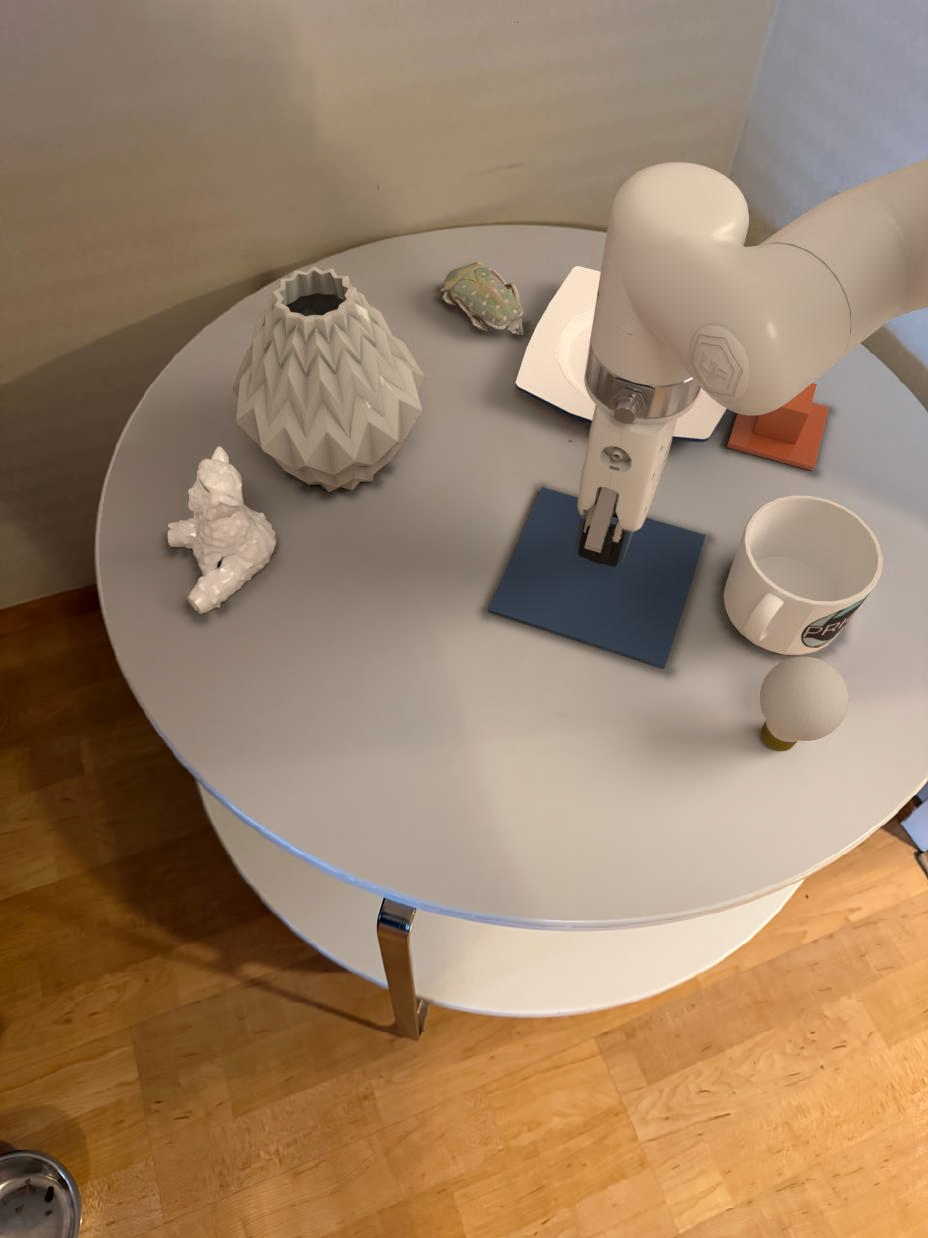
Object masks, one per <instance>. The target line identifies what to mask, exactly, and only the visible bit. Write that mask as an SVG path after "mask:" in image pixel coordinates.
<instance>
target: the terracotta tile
mask: <svg viewBox="0 0 928 1238" xmlns="http://www.w3.org/2000/svg"><path fill="white" fill-rule="evenodd" d="M829 409H830V407H829V406H825V405H822V404H818V403H816V402H815V403H814V402H812V405H811V409H810V413H809V416H808V418H807V420H806V422H805V425H804V427H803V429H802V431H801V434H800V436H799V438H798V440H797V443H796V444H792V443H788V442H784V441H781V440H777V439H773V438H770V437H766V436H762V435H759V434H755V433H753V431H754V428H755V424H756V421H757V417H758V415H743V414H739V413H736V417H735V418H734V422H733V426H732V429H731V432H730V435H729V438H728V442H727V444H726V448H728V449H731V450H735V451H739V452H742V453H746V454H750V455H754V456H758V457H760V458H765V459H768V460H772V461H775V462H778V463H782V464H786V465H790V466H793V467H797V468H800V469H805V470H808V471H814V470H815V466H816V462H817V458H818V454H819V452H820V451H819V450H820V446H821V443H822V437H823V434H824V430H825V425H826V423H827V422H826V421H827V418H828V414H829Z"/></svg>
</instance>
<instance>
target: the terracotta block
mask: <svg viewBox="0 0 928 1238" xmlns="http://www.w3.org/2000/svg"><path fill="white" fill-rule="evenodd" d="M816 389H817V383H815V382H813V383H812V384H810V385H809V386H808V387H807V388H805V389H804V390H803V391H802V392H801V393H799V394H798V395H797V396H796V397H794V398H793V399H792V400H790V401H789V402H788V403H786V404H785V405H783V406H781V407H780V408H778V409H776V410H774V411H772V412H769V413H766V414H762V415H758V417H757V421H756V424H755V428H754V431H753V433H755V434H759V435H762V436H766V437H770V438H773V439H777V440H781V441H784V442H788V443H792V444H796V443H797V440H798V438H799V436H800V434H801V431H802V429H803V427H804V425H805V422H806V420H807V418H808V416H809V413H810V409H811V405H812V403H813V401H814V397H815V393H816Z"/></svg>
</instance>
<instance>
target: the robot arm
mask: <svg viewBox="0 0 928 1238" xmlns="http://www.w3.org/2000/svg"><path fill="white" fill-rule="evenodd" d="M749 226H750V215H749V207H748V203H747V200H746V198H745V196H744V194H743V192H742V191H741V190H740V188H739V187H738V186H737V185H736V183H734V182H733V181H732V180H731V179H730V178H729V177H727V176H726V175H724V174H723V173H721V172H719V171H717V170H715V169H713V168H711V167H708V166H705V165H701V164H698V163H693V162H692V163H691V162H684V161H670V162H662V163H658V164H654V165H653V164H652V165H651V166H648V167H645V168H642V169H641V170H639V171H637V172H635V173H633V175H632V176H630V177H629V178H628V179H627V180H626V181H625V182H624V183H622V185H621V187H620V188H619V189H618V191H617V192H616V194H615V197H614V198H613V201H612V205H611V208H610V212H609V217H608V223H607V230H606V235H605V243H604V249H603V254H602V261H601V268H600V272H601V273H600V280H599V286H598V292H597V299H596V305H595V311H594V318H593V324H592V330H591V337H590V343H589V349H588V356H587V362H586V369H585V376H584V382H585V387H586V390H587V393H588V394H589V396H590V398H591V399H592V401H593V402H594V403H595V404H596V405H595V409H594V414H593V419H592V424H591V423H590V424H591V425H590V428H589V435H588V438H587V444H586V449H585V455H584V459H583V466H582V470H581V476H580V482H579V488H578V494H577V495H578V496H577V497H578V504H577V508H578V510H579V512H580V514H581V515H582V516H584V514H587V518H586V521H585V522H584V525H583V529H582V535H581V540H580V545H579V550H578V555H579V556H580V557H582V558H586V559H588V560H590V561H592V562H594V563H598V564H605V565H608V566H612V567H615V566H617V564H618V561H619V557H620V553H621V549H622V545H623V542H624V538H625V534H626V533H625V532H623V529H625V530H629V531H633V532H634V531H637V530H638V529H640V528H641V527H642V525H643V523H644V521H645V519H646V518H647V516H648V513H649V510H650V507H651V505H652V502H653V499H654V497H655V493H656V491H657V488H658V485H659V483H660V480H661V477H662V473H663V471H664V468H665V465H666V462H667V460H668V456H669V452H670V449H671V445H672V442H673V440H672V438H673V433H674V430H675V426H676V423H677V419H678V418H679V417H681V416H682V415H684V414H685V413H687V412H688V411H689V410H690V409H691V408H692V407H693V405H694V404H695V402H696V400H697V398H698V395H699V392H700V388H702V389H703V390H704V391H705V392H706V393H707V394H708V395H709V396H710V397H711V398H712V399H714V400H715V401H716V402H717V403H719V404H720V405H721V406H723V407H725V408H727V410H729V411H730V412H733V413H736V414H737V413H739V414H743V415H762V414H766V413H769V412H772V411H774V410H776V409H778V408H780V407H781V406H783V405H785V404H786V403H788V402H789V401H790V400H792V399H793V398H794V397H796V396H797V395H798V394H799V393H801V392H802V391H803V390H804V389H805V388H807V387H808V386H809V385H810V384H812V383H815V381H816V380H818V379H819V378H820V377H821V376H823V375H824V374H825V373H827V371H829V370H830V369H831V368H832V367H834V366H835V365H836V364H837V363H838V362H839V361H840V360H841V359H843V358H844V357H845V356H846V355H848V354H849V353H850V352H851V351H853V350H854V349H856V347H858V346H859V345H860V344H862V343H863V342H864V341H865V340H866V339H867V338H869V337H870V336H871V335H872V334H874V333H876V332H877V331H878V330H879V329H880V328H882V327H884V325H885V324H887V323H888V322H889V321H891V320H893V319H895V318H898V317H900V316H903V315H905V314H909V313H912V312H915V311H920V310H922V309H923V310H924V309H926V308H928V157H927V158H923V159H922V160H920V161H916V162H914V163H911V164H908V165H906V166H904V167H901V168H898V169H896V170H893V171H890V172H888V173H885V174H883V175H881V176H877V177H875V178H873V179H870V180H867V181H865V182H863V183H860V184H858V185H855V186H853V187H850V188H847V189H846V190H844V191H841V192H840V193H837V194H835V195H833V196H831V197H830V198H827V199H826V200H824V201H822V202H820V203H819V204H817V205H815V206H813V207H812V208H810V209H809V210H808V211H806V212H804V213H803V214H801V215H800V216H798V217H797V218H795V219H793V220H792V221H791V222H789V223H788V224H786V225H785V226H783V227H781V228H780V229H779V230H778V231H776V232H775V233H773V234H772V235H771V236H769V237H768V238H767V239H765V240H764V241H762V242H761V243H759V244H757V245H752V246H745V243H746V238H747V234H748V230H749ZM612 517H615V518H618V519H617V522H616V525H614V524H611V523H610V522H611V519H612Z"/></svg>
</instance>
